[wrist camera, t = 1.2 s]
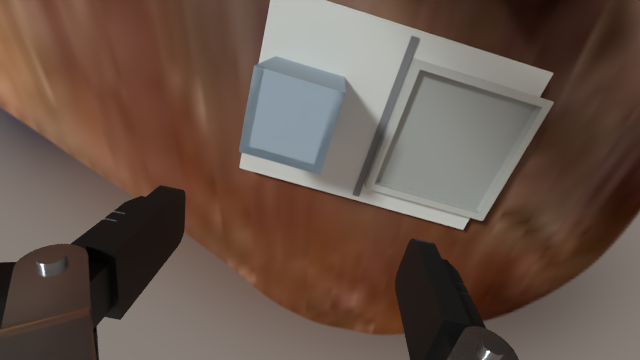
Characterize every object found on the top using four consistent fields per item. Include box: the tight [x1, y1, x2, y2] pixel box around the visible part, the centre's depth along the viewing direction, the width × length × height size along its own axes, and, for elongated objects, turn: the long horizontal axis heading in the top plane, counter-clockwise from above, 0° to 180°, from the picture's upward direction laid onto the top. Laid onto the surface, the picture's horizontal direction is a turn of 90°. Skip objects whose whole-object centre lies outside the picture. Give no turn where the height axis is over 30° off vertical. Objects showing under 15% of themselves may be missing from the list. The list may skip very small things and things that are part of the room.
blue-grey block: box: [239, 56, 346, 175], centre depth 23 cm, size 6×6×7 cm
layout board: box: [239, 0, 554, 230], centre depth 25 cm, size 23×15×6 cm, turn 74°
